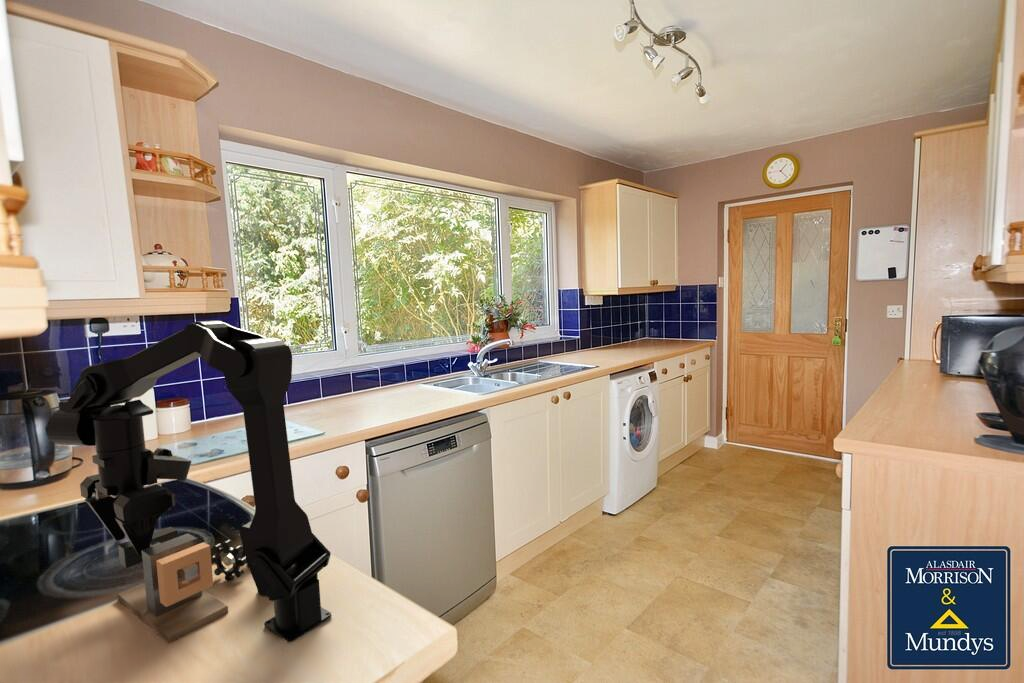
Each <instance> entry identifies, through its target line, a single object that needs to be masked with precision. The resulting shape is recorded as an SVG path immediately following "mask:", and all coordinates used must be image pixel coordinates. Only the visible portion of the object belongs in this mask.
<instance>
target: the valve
mask: <svg viewBox="0 0 1024 683" xmlns="http://www.w3.org/2000/svg"><path fill="white" fill-rule="evenodd" d="M232 544H233V541H232V540H231V539H226V540H225V541H223V542H222V543H216V544H215V545H213V546H212V548H211V550H212V552H213V553H215V554H214V555H211V563H212V564H215V565H216V568H215V569H214V571H213V573H214V575H215V576H220V575H221V574H224V580H225V581H226V580H227V582H231V581H232V580H233V579H234V578H237V579H238V578H241V577H242V576H243V575H244V574H245V572H246V571H245V569H244V568H243V569H240V568H241V567H244V566H245V565H247V563H246V556H245V557H244V558H242V551H243V546H242V545H236V546H235V547H231V545H232ZM223 554H226V555H225V556H224V557H223V558H222V560H221V557H222V555H223ZM224 565H225V566H226V567H225V566H224ZM231 565H232V566H231ZM229 566H231V568H227V567H229Z"/></svg>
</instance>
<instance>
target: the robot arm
mask: <svg viewBox="0 0 1024 683" xmlns="http://www.w3.org/2000/svg"><path fill="white" fill-rule="evenodd" d="M199 358H202V360H203V361H204V362H205V364H206V365H207V366H209V367H211V368H213V369H215V370H217V371H219V372H221V373H223V377H224V381H225V383H226V384H225V385H226V387H227V390H228V391H229V393H230V394H231V396H233V397H234V398H235V400H236V401H237V402H238V404H239V405H240V406H241V408H242V411H243V412H242V413H243V419H244V428H245V436H246V444H247V445H246V446H247V451H248V453H247V454H248V460H249V467H250V468H249V469H250V475H251V483H252V491H253V493H252V494H253V500H254V501H253V503H254V506H255V507H254V509H255V510H254V515H253V517H252V520H251V521H249V522H247V523H245V524H244V525H241V527H240V530H239V537H240V540H241V546H243V551H242V558H244V557H246V566H247V568H248V570H249V572H250V575H251V577H252V578H253V581H254V583H255V587H256V589H258V590H257V593H258V592H259V594H260V595H261V596H262V597H266V598H268V601H273V610H274V616H273V617H272V618H269V619H268V620H266V621H265V622H264V623H263V624H264V628H265V629H267V630H269V631H270V632H272V633H274V634H275V635H276V636H278V637H280V638H281V639H283V640H284V641H285V642H287V643H291V642H294V641H296V640H297V639H299V638H301V637H302V636H304V635H305V634H307V633H308V632H311V630H313V629H315V628H317V627H318V626H320V625H321V624H322V623H324V622H326V621H328V620H329V619H331V618H332V612H331V611H329V610H328V609H325V608H324V607H322V606H321V605H322V604H321V603H322V602H321V590H320V579H319V577H318V573H319V572H320V571H321V570H323V569H324V568H326V567H327V566H329V563H330V562H329V561H330V559H331V554H332V553H331V552H330V550H329V549H328V548H327V547H326V546H325V545H324V544H323V543H322V542H321V540H319V538H318V537H317V536H316V535H315V534H314V533H313V532H312V531H313V530H312V527H311V524H310V521H309V517H308V514H307V513H306V512H305V511H304V510H303V509H302V507H301V506H300V505H299V504H298V502H297V501H296V500H295V499H296V497H295V490H294V482H293V472H292V466H291V456H290V449H289V440H288V432H287V424H286V423H287V422H286V414H285V406H284V402H285V401H284V400H285V397H286V395H287V392H288V389H289V386H290V384H291V381H292V378H293V377H292V376H293V374H292V373H293V372H292V371H293V354H292V350H291V348H290V346H289V345H288V344H286V343H285V342H284V341H283V340H282V339H281V338H278V337H272V336H270V337H269V336H268V337H266V336H264V335H262V334H259V333H256V332H252V331H248V330H246V329H243V328H238V327H236V326H233V325H231V324H229V323H226V322H223V321H222V320H218V319H217V320H201V321H199V320H198V321H194V322H193V321H192V322H191V323H189V324H187V325H185V326H184V328H183V329H181V330H179V331H177V332H175V333H173V334H170V335H169V336H167V337H166V338H163V339H161V340H160V341H158V342H155V343H153V344H152V345H149V346H148V347H146V348H144V349H142V350H140V351H138V352H136V353H134V354H132V355H130V356H127V357H122V358H118V359H113V360H107V361H103V362H99V363H95V364H91V365H88V366H86V367H85V368H83V369H82V371H80V373H79V376H80V377H79V378H78V380H77V382H76V384H75V387H74V388H73V391H72V393H71V395H70V397H69V399H68V400H63V401H62V400H61V401H58V410H56V412H54V413H53V414H52V415H51V416H50V418H49V419H48V420H47V424H46V426H45V433H46V437H47V438H48V439H49V440H50V441H51V442H52V443H55V444H57V445H61V446H62V445H63V446H81V447H82V446H83V447H84V446H85V447H87V446H89V447H92V446H93V447H95V452H96V454H95V455H92V456H91V457H92V463H93V464H95V465H96V466H97V471H98V474H94V475H89V476H86V477H85V478H84V479H83V481H82V482H81V483H79V489H80V496H81V497H82V498H84V501H85V503H86V504H87V505H88V507H90V509H91V510H92V511H93V513H94V514H95V515H96V516H97V517H98V519H99V521H100V522H101V523H102V525H103V526H104V527H105V529H106V530H107V531H108V532H109V534H110V535H111V537H112V538H113V539H114V540H115V541H116V542H118V541H121V540H124V539H125V536H126V538H127V540H128V541H129V542H130V543H131V545H132V546H133V548H134V550H135V551H136V553H137V554H138V556H140V557H141V556H142V550H144V549H147V548H150V545H151V541H152V537H153V533H154V532H155V530H156V525H157V522H158V520H159V519H160V518H161V517H162V516H163V515H164V513H166V512H169V511H170V510H171V508H173V507H175V506H176V499H175V496H176V495H175V492H174V491H172V490H170V489H168V488H166V487H163V486H162V485H159V484H158V480H177V481H178V482H179V481H180V482H185V481H187V478H188V474H189V471H190V467H191V465H192V460H191V459H188V458H184V457H181V456H177V455H174V456H173V452H172V451H171V449H168V448H160V447H159V448H156V449H155V450H154V451H152V450H151V449H149V448H146V441H145V440H146V439H145V431H144V430H145V429H144V419H143V417H145V416H149V415H153V414H154V409H153V408H151V407H150V406H149V405H146V404H145V403H144V402H143V401H142V400H141V399H134V398H140V397H142V396H143V395H145V394H146V393H147V392H148V391H150V390H151V389H152V388H153V387H155V385H156V383H157V380H158V379H159V378H161V377H162V376H165V375H166V374H169V373H171V372H172V371H175V370H177V369H179V368H181V367H182V366H185V365H187V364H189V363H191V362H193V361H195V360H197V359H199ZM133 399H134V400H133ZM145 486H146V487H145ZM260 595H259V596H260ZM261 596H260V597H261Z"/></svg>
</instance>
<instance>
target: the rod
mask: <svg viewBox="0 0 1024 683" xmlns="http://www.w3.org/2000/svg"><path fill="white" fill-rule="evenodd" d="M177 537H179V535H178V529H176V528H174V527H172V526H168V527H166V528H163V529H160V530H157V531H154V533H153V537H152V541H151V545H150V547H152V546H155V545H158V544H160V543H163V542H166V541H169V540H171V539H174V538H177ZM117 550H118V557H119V565H121V566H122V567H123V568H124V569H128V568H130V567H133V566H136V565H139V564H141V563H143V560H142V556H141V557H140V556H138V554H137V553H136V551H135V550H134V548H133V546H132V545H131V543H130V542H129V540H128V541H125V542H122V543H119V544H117ZM177 576H178V577H180V578H181V579H183V580H184V581H189V580H191V579H193V578H195V577H198V565H196V564H195V563H194V564H191V565H189V566H186V567H184V568H182V569H179V570H177Z"/></svg>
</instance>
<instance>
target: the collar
mask: <svg viewBox="0 0 1024 683" xmlns="http://www.w3.org/2000/svg"><path fill="white" fill-rule="evenodd" d="M211 557H212V554H211V545H210V544H208V543H206V542H204V541H203V542H200V543H198V545H195V546H192V547H190V548H187V549H185V550H182V551H180V552H177V553H175V554H172V555H169V556H167V557H164V558H162V559H159V560H157V561H156V564H157V574H158V585H159V595H160V603H162V604H163V605H164V606H166V607H168V606H170V605H172V604H174V603H176V602H178V601H181V600H183V599H185V598H187V597H189V596H191V595H194V594H196V593H198V592H200V591H202V590H204V591H205V590H206V589H209V588H211V587H212V586H214V576H213V575H214V574H213V565H212V563H211ZM194 563H195V564H196V565H198V577H195V578H193V579H191V580H189V581H182V582H179V583H178V578H177V570H179V569H182V568H184V567H186V566H189V565H191V564H194Z"/></svg>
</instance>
